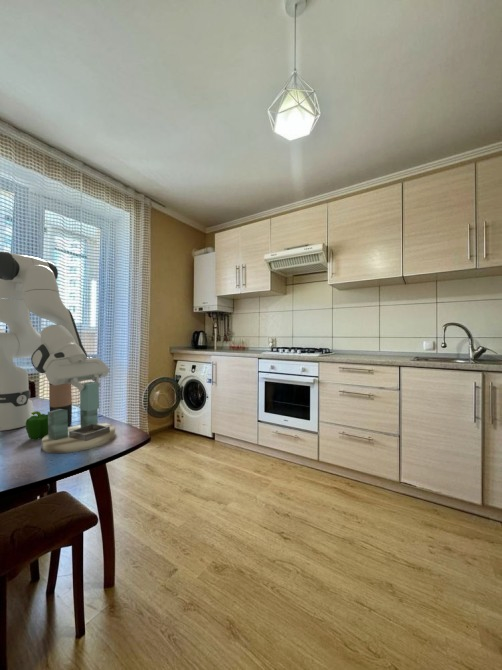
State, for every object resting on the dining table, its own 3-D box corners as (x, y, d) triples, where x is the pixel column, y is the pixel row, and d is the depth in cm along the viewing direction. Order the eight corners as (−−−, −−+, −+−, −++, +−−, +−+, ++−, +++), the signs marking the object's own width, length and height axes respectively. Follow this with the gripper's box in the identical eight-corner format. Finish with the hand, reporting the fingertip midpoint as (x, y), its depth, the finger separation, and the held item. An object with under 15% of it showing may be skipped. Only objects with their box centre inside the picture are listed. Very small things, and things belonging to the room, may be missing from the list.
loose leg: (80, 410, 95) (80, 383, 95) (91, 407, 99) (90, 382, 99) (88, 411, 93) (87, 384, 93) (99, 408, 97) (98, 382, 97)
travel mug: (76, 422, 118) (75, 376, 118) (62, 429, 110) (61, 379, 110) (60, 422, 119) (59, 376, 119) (45, 428, 111) (44, 379, 111)
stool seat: (35, 441, 98) (34, 408, 98) (102, 425, 114) (101, 397, 114) (50, 459, 83) (49, 421, 83) (125, 438, 99) (124, 406, 99)
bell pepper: (50, 431, 107) (49, 406, 107) (57, 436, 102) (56, 409, 102) (22, 438, 101) (22, 411, 101) (28, 443, 96) (28, 415, 96)
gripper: (94, 362, 110) (112, 388, 106) (37, 368, 92) (56, 400, 88) (101, 351, 108) (120, 377, 104) (45, 355, 90) (65, 387, 86)
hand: (90, 388), depth 96 cm, fingers closed on loose leg, 4 cm apart
